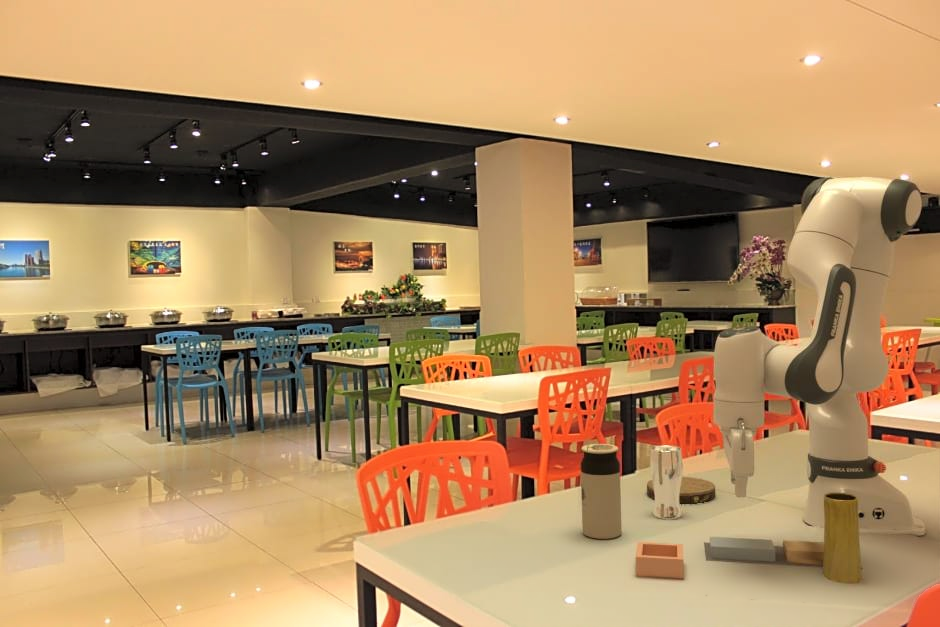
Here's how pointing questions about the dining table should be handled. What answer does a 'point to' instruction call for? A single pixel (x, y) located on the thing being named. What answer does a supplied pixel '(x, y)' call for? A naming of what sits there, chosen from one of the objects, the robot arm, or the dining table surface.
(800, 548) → the oak board
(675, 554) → the orange frame
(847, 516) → the vase
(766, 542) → the slate board
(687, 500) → the wood slice coaster
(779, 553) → the mat
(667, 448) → the beer glass
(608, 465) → the travel mug
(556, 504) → the dining table surface
